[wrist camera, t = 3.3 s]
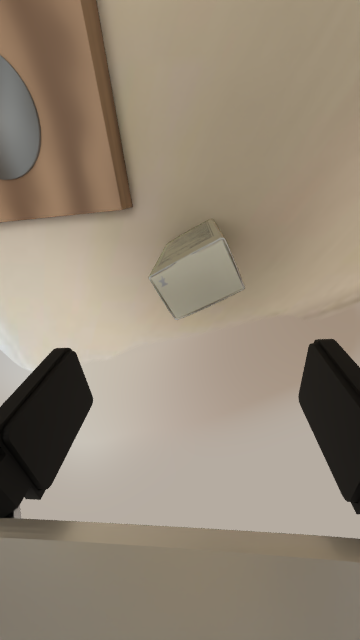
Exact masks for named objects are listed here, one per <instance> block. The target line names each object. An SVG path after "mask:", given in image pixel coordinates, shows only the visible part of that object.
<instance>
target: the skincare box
mask: <svg viewBox="0 0 360 640" xmlns="http://www.w3.org/2000/svg"><path fill="white" fill-rule="evenodd" d="M149 279H150V281H151V283H152V284H153V286H154V288H155V289H156V291H157V293H158V294H159V296H160V297H161V299H162V301H163V302H164V304H165V305H166V307H167V309H168V310H169V312H170V313H171V314H172V316H173V317H174V319H175V320H178V319H181V318H184V317H186V316H189V315H191V314H193V313H196V312H198V311H200V310H202V309H204V308H207V307H209V306H211V305H213V304H215V303H217V302H219V301H221V300H224V299H226V298H228V297H230V296H232V295H234V294H236V293H238V292H240V291H242V290H244V289H245V286H244V283H243V281H242V278H241V275H240V273H239V270H238V267H237V265H236V262H235V260H234V258H233V255H232V253H231V251H230V248H229V246H228V244H227V241H226V239H225V238H224V236H223V235H222V233H221V231H220V230H219V228H218V227H217V225H216V223H215V222H214V220H213V219H210V220H208V221H206V222H204V223H202V224H200V225H198V226H197V227H195V228H193V229H191V230H189V231H188V232H186V233H184V234H183V235H181V236H179V237H178V238H176V239H174V240H173V241H171V242H169V243H168V244H167V245H166V247H165V248H164V250H163V252H162V254H161V256H160V257H159V259H158V261H157V263H156V265H155V267H154V268H153V270H152V272H151V274H150V276H149Z"/></svg>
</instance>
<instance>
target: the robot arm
mask: <svg viewBox="0 0 360 640" xmlns="http://www.w3.org/2000/svg"><path fill="white" fill-rule="evenodd" d="M299 402H300V405H301V407H302V410H303V412H304V414H305V416H306V418H307V420H308V422H309V425H310V427H311V429H312V431H313V433H314V435H315V438H316V440H317V442H318V444H319V446H320V448H321V450H322V453H323V455H324V457H325V459H326V461H327V463H328V466H329V467H330V470H331V472H332V474H333V476H334V478H335V481H336V483H337V485H338V487H339V489H340V491H341V494H342V495H343V497H344V499H345V500H346V501H348V502H351V504H352V506H353V507H354V510H355V512H356V514H360V368H359V366H357V364H356V363H355V362H354V361H353V360H352V359H351V358H350V356H349V355H348V354H347V353H346V352H345V351H344V350H343V348H342V347H341V346H340V345H339V344H338V343H337V342H336V341H335V340H334V339H322V340H321V339H318V340H315V341H314V343H313V344H310V345H309V347H308V352H307V357H306V362H305V367H304V372H303V377H302V381H301V387H300V391H299ZM92 403H93V397H92V394H91V391H90V389H89V386H88V383H87V381H86V378H85V375H84V373H83V370H82V368H81V365H80V362H79V360H78V357H77V355H76V353H75V352H74V351H72V350H71V349H70V348H56V349H54V350H53V351H52V352H51V353H50V354H49V355H48V356H47V357H46V358H45V359H44V360H43V361H42V362H41V364H40V365H39V366H38V367H37V368H36V369H35V370H34V371H33V372H32V373H31V374H30V375H29V376H28V378H27V379H26V380H25V381H24V382H23V383H22V384H21V385H20V386H19V387H18V388H17V389H16V391H15V392H14V393H13V394H12V395H11V396H10V397H9V398H8V399H7V400H6V401H5V402H4V403H3V405H2V406H1V407H0V640H360V539H355V538H342V537H329V536H317V535H303V534H286V533H269V532H254V531H238V530H237V531H236V530H221V529H220V530H219V529H205V528H187V527H168V526H152V525H151V526H150V525H133V524H116V523H115V524H114V523H97V522H77V521H57V520H38V519H21V512H20V503H21V501H22V500H23V498H24V497H25V498H26V499H38V500H40V499H41V497H42V496H43V494H44V492H45V490H46V489H48V488H49V487H50V486H51V484H52V483H53V481H54V479H55V477H56V475H57V473H58V471H59V469H60V467H61V465H62V463H63V461H64V459H65V457H66V455H67V453H68V451H69V449H70V447H71V445H72V443H73V441H74V439H75V437H76V435H77V433H78V431H79V430H80V428H81V426H82V424H83V422H84V420H85V418H86V416H87V414H88V412H89V410H90V408H91V406H92Z"/></svg>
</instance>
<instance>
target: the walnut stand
mask: <svg viewBox="0 0 360 640" xmlns="http://www.w3.org/2000/svg"><path fill="white" fill-rule="evenodd" d="M129 207H132V201H131V195H130V190H129V184H128V178H127V173H126V167H125V161H124V156H123V150H122V144H121V139H120V133H119V127H118V122H117V116H116V110H115V105H114V99H113V94H112V88H111V82H110V77H109V71H108V65H107V60H106V54H105V48H104V43H103V37H102V31H101V26H100V20H99V14H98V9H97V3H96V0H0V222H7V221H17V220H27V219H36V218H46V217H56V216H66V215H75V214H85V213H95V212H105V211H114V210H123V209H126V208H129Z"/></svg>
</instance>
